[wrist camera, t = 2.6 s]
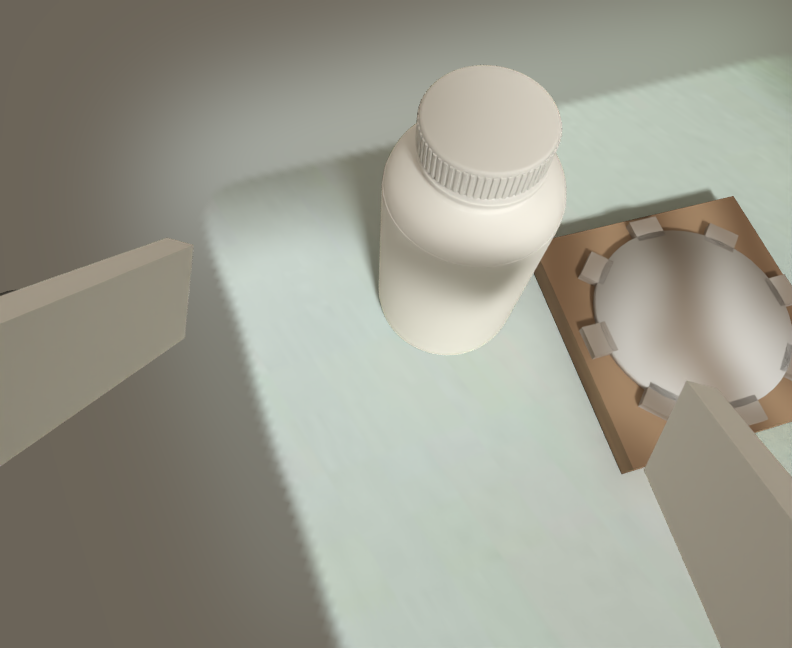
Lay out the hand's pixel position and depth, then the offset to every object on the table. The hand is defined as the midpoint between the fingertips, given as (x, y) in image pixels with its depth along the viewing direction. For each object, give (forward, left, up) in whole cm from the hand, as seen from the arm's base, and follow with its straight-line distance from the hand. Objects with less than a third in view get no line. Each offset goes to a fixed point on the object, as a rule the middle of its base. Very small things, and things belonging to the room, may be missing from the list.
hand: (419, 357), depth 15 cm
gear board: (-19, -3, -16) cm, 25 cm away
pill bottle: (-6, -9, -17) cm, 20 cm away
